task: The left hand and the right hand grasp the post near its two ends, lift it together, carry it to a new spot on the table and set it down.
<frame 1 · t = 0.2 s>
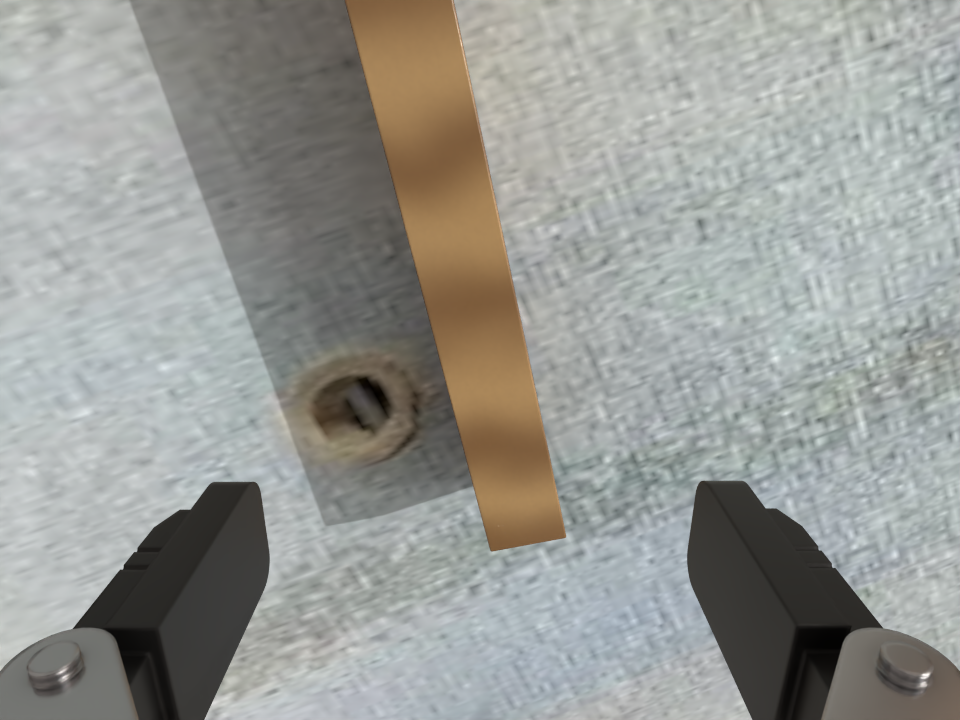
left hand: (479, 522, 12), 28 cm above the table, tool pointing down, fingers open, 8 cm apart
post: (417, 28, 34), on the table
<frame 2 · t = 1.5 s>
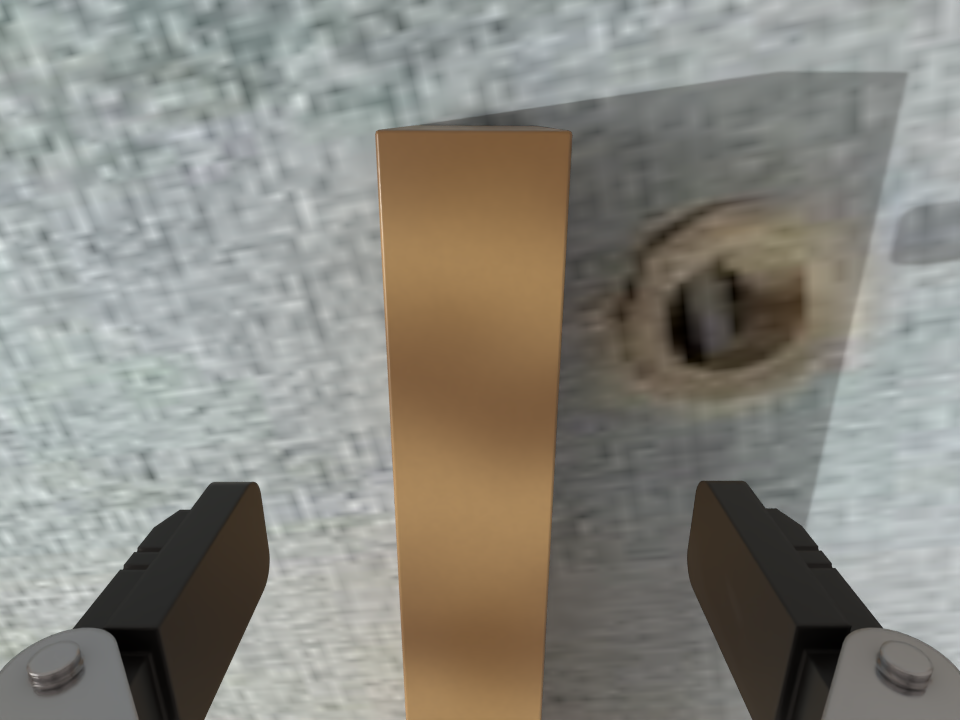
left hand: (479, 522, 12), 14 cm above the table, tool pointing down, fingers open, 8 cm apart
post: (474, 712, 32), on the table
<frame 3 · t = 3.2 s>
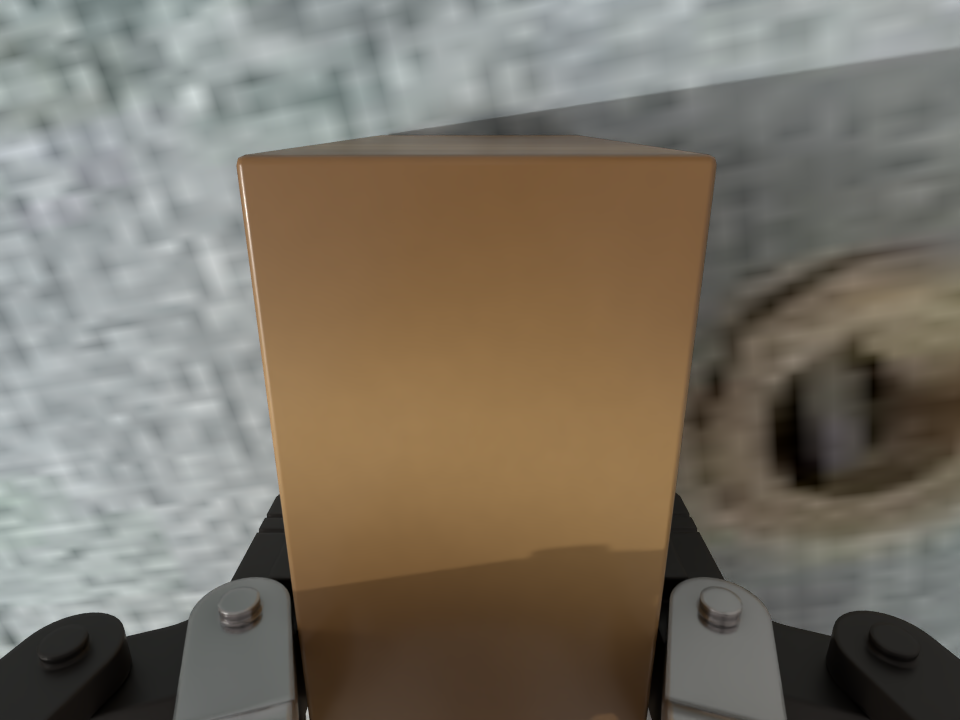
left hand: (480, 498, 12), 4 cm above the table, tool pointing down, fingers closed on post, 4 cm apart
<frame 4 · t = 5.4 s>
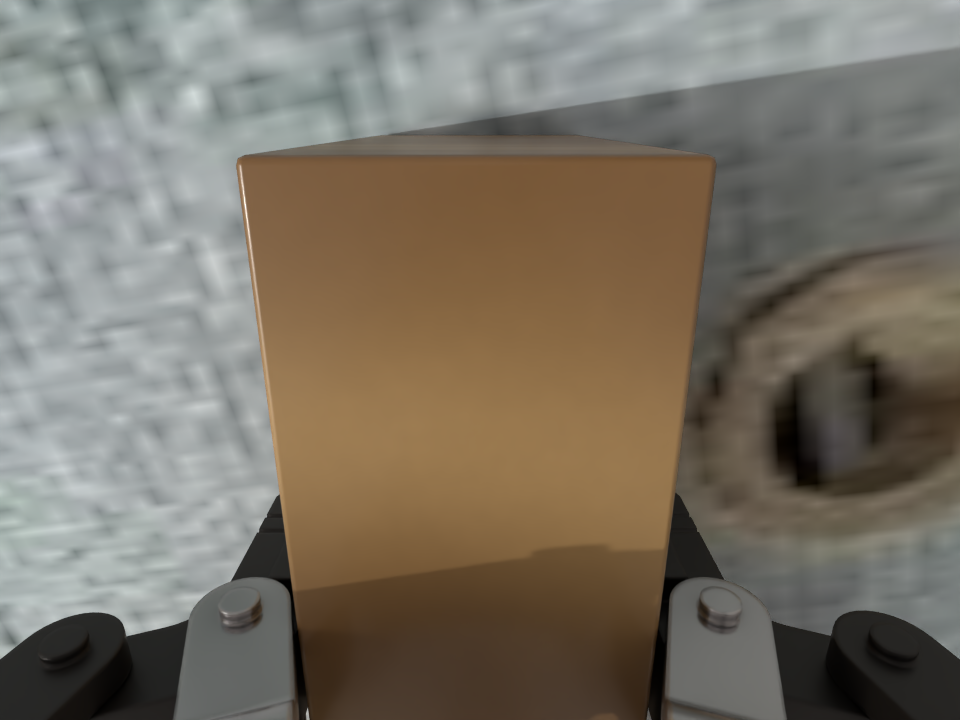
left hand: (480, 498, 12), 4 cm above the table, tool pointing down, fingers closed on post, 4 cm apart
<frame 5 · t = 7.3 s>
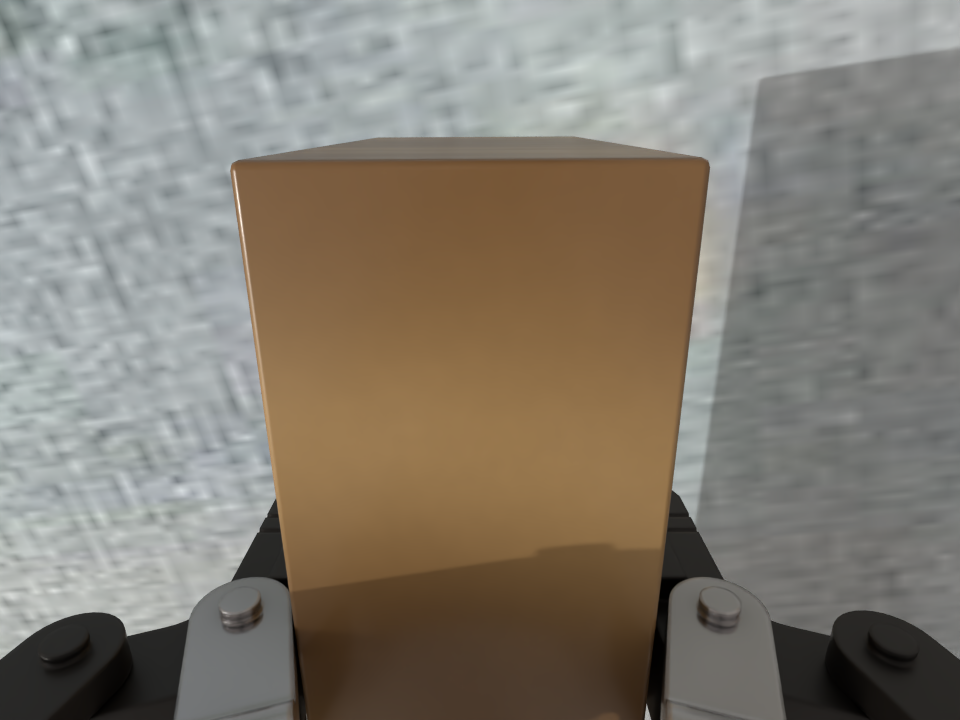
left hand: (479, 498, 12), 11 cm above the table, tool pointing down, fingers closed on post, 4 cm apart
when the left hand's fingers open (5 cm above the table, at t = 9.4 s): post drops 2 cm, on the table.
when the right hand's fingers open (5 cm above the table, at t = 9.4 s): post drops 2 cm, on the table.
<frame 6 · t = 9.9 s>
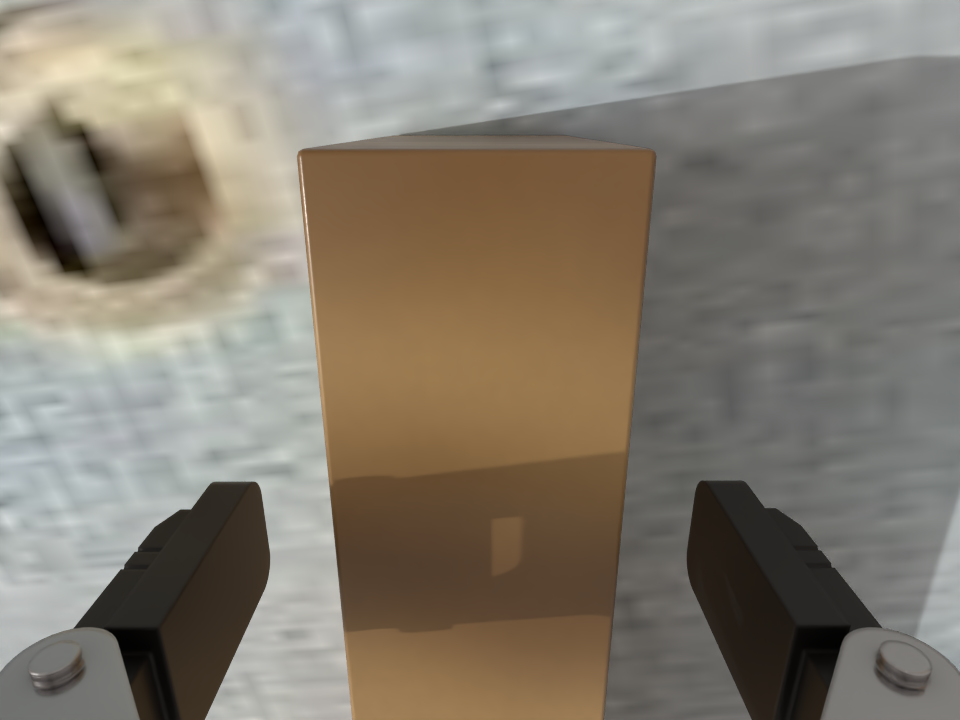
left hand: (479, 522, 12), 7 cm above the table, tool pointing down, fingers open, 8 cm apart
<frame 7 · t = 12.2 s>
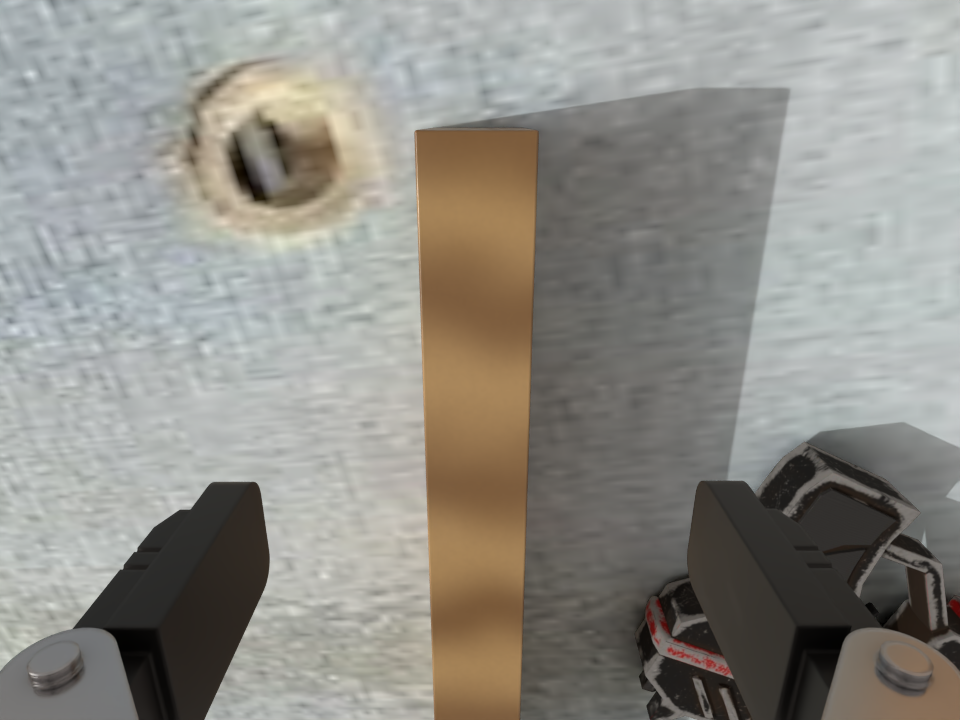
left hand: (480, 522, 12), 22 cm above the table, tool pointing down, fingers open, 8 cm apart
post: (477, 594, 40), on the table
gun: (882, 627, 41), on the table
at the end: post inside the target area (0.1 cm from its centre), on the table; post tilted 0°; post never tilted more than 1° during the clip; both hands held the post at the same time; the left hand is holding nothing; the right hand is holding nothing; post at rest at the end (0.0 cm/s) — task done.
